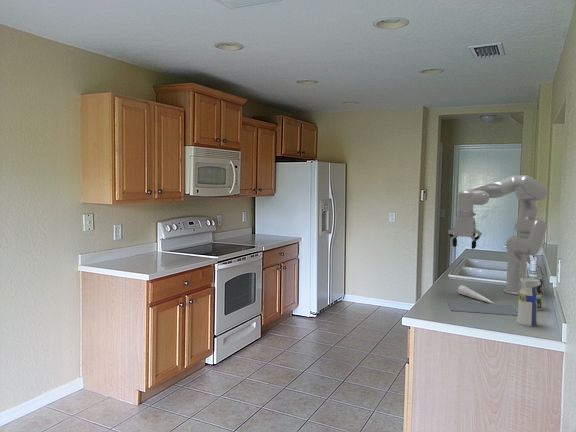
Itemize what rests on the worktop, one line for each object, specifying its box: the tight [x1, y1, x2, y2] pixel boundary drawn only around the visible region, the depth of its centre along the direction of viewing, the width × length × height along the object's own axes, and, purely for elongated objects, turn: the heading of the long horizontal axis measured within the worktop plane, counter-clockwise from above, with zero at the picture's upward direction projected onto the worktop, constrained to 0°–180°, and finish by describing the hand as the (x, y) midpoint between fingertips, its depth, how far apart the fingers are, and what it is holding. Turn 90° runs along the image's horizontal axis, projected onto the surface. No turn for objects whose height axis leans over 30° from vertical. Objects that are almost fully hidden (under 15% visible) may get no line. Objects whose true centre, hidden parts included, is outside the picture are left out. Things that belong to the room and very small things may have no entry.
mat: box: [447, 300, 518, 317], centre depth 222 cm, size 30×18×1 cm, turn 77°
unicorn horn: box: [457, 284, 494, 304], centre depth 239 cm, size 5×24×5 cm, turn 16°
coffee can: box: [517, 276, 544, 311], centre depth 224 cm, size 10×10×14 cm
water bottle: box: [516, 266, 541, 327], centre depth 198 cm, size 8×9×25 cm
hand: (464, 247), depth 239 cm, fingers open, 9 cm apart
